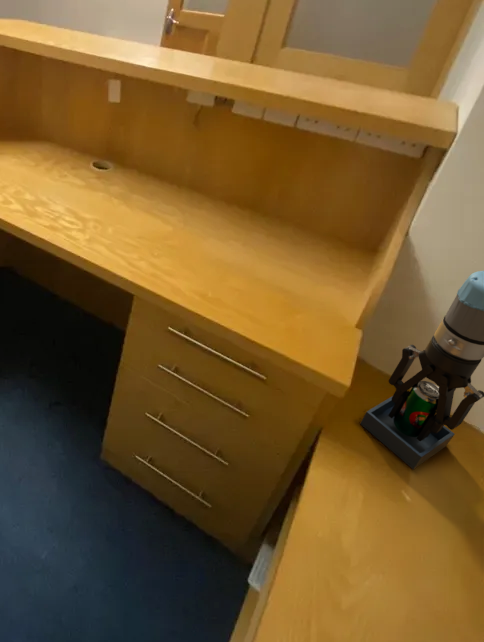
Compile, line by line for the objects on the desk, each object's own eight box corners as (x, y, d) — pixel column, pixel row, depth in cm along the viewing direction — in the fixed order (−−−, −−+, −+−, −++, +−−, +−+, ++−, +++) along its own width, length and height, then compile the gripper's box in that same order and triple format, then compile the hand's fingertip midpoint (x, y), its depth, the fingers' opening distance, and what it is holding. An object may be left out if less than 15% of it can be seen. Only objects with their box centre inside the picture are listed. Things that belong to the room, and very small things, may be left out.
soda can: (398, 412, 108) (421, 374, 101) (425, 430, 104) (450, 392, 98) (388, 425, 105) (410, 387, 99) (415, 443, 102) (440, 405, 95)
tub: (446, 446, 104) (455, 433, 102) (413, 469, 99) (421, 457, 97) (392, 403, 112) (399, 391, 110) (359, 423, 108) (366, 411, 106)
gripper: (395, 320, 98) (355, 398, 110) (503, 391, 84) (443, 472, 96) (419, 308, 101) (377, 386, 113) (527, 375, 87) (466, 455, 99)
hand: (407, 425), depth 104 cm, fingers closed on soda can, 5 cm apart
